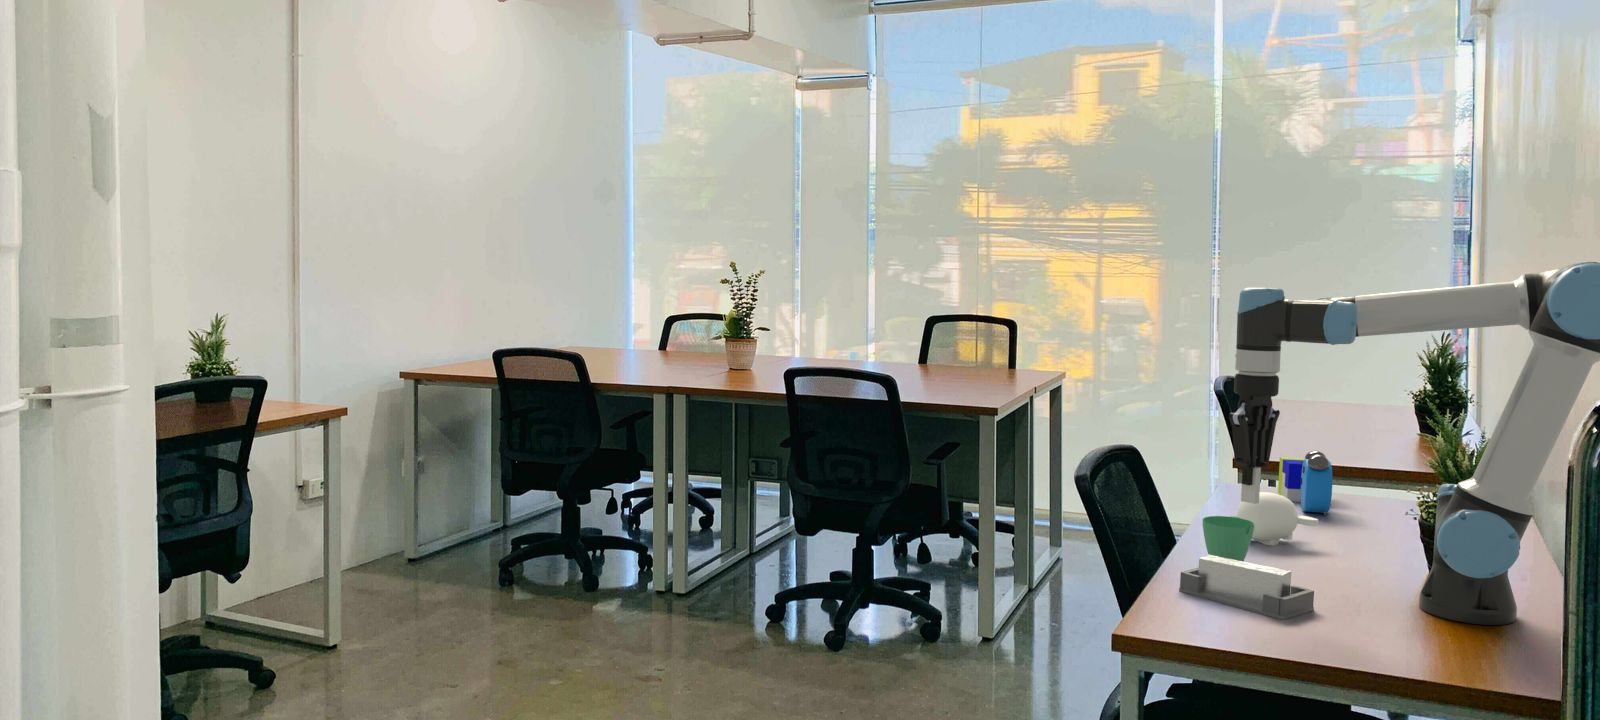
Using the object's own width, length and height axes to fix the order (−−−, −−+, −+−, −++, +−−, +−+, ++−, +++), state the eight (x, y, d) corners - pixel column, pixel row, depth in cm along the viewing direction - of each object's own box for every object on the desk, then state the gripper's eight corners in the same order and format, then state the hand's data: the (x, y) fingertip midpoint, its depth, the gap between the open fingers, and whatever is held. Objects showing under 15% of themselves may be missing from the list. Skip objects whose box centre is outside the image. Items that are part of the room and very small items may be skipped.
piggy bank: (1244, 553, 253) (1309, 558, 255) (1258, 506, 249) (1324, 511, 250) (1221, 524, 265) (1283, 529, 266) (1234, 479, 260) (1297, 484, 262)
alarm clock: (1330, 518, 282) (1334, 458, 281) (1303, 516, 284) (1306, 456, 283) (1324, 508, 295) (1328, 449, 293) (1298, 505, 297) (1301, 448, 295)
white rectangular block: (1289, 603, 209) (1291, 571, 208) (1280, 608, 206) (1282, 575, 205) (1207, 585, 220) (1208, 554, 219) (1197, 589, 217) (1199, 558, 216)
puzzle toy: (1287, 501, 302) (1289, 463, 302) (1277, 493, 312) (1279, 457, 311) (1327, 503, 301) (1329, 465, 300) (1317, 495, 311) (1319, 458, 310)
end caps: (1313, 610, 207) (1314, 590, 207) (1283, 620, 201) (1284, 599, 201) (1209, 582, 224) (1210, 564, 224) (1178, 590, 218) (1179, 572, 218)
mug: (1248, 579, 227) (1251, 529, 226) (1196, 572, 231) (1198, 523, 230) (1257, 562, 239) (1260, 515, 238) (1208, 556, 244) (1210, 509, 243)
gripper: (1257, 369, 216) (1251, 494, 218) (1217, 373, 208) (1210, 502, 210) (1296, 373, 210) (1288, 501, 212) (1255, 376, 202) (1248, 510, 204)
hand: (1249, 501), depth 211 cm, fingers closed
